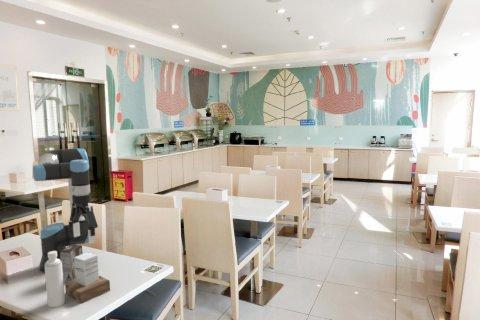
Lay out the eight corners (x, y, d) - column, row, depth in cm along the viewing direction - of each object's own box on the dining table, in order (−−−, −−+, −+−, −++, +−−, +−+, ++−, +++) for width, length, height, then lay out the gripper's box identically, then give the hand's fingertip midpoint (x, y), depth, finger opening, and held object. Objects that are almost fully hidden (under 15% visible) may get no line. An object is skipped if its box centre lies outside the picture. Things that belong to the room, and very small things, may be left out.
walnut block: (65, 293, 159) (65, 283, 158) (94, 282, 170) (93, 272, 169) (81, 303, 150) (80, 292, 150) (110, 290, 161) (109, 280, 161)
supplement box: (75, 283, 158) (73, 257, 157) (89, 276, 165) (87, 251, 163) (85, 287, 155) (83, 260, 153) (99, 280, 161) (97, 254, 159)
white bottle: (44, 306, 149) (39, 250, 146) (56, 298, 155) (52, 245, 152) (56, 308, 146) (51, 252, 143) (68, 300, 153) (64, 246, 150)
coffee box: (73, 273, 180) (71, 244, 178) (84, 274, 179) (82, 244, 177) (61, 281, 171) (59, 250, 169) (73, 282, 170) (70, 251, 168)
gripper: (59, 192, 159) (63, 236, 162) (87, 199, 144) (90, 248, 147) (75, 189, 165) (78, 231, 168) (104, 196, 150) (107, 242, 153)
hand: (84, 239), depth 157 cm, fingers open, 13 cm apart
